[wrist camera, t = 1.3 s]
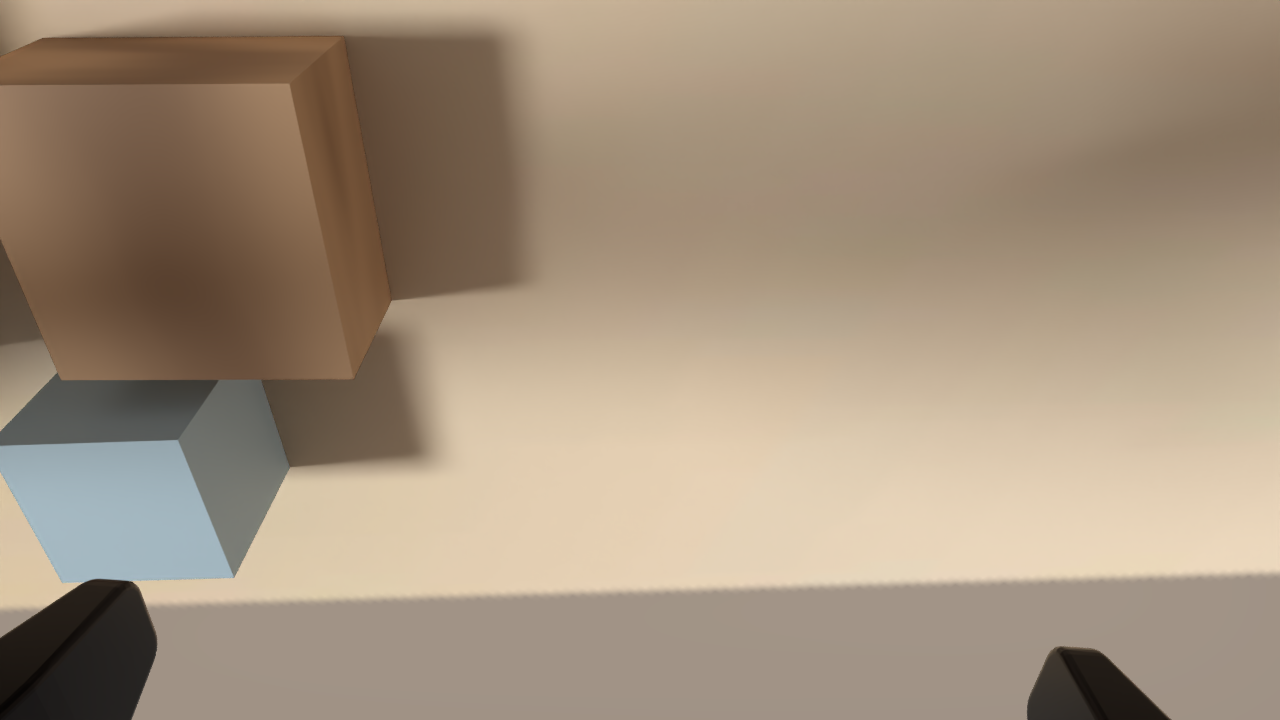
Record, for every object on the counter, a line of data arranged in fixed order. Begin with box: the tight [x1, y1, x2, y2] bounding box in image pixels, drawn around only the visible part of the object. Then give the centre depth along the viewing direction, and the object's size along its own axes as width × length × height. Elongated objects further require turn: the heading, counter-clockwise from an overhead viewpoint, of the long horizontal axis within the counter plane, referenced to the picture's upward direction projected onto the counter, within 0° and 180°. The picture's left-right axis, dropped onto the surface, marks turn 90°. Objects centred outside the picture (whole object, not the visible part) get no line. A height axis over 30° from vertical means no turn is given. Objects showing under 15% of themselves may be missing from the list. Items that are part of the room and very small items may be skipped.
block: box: [0, 373, 290, 583], centre depth 21 cm, size 4×4×4 cm
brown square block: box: [0, 36, 392, 380], centre depth 18 cm, size 6×6×4 cm
